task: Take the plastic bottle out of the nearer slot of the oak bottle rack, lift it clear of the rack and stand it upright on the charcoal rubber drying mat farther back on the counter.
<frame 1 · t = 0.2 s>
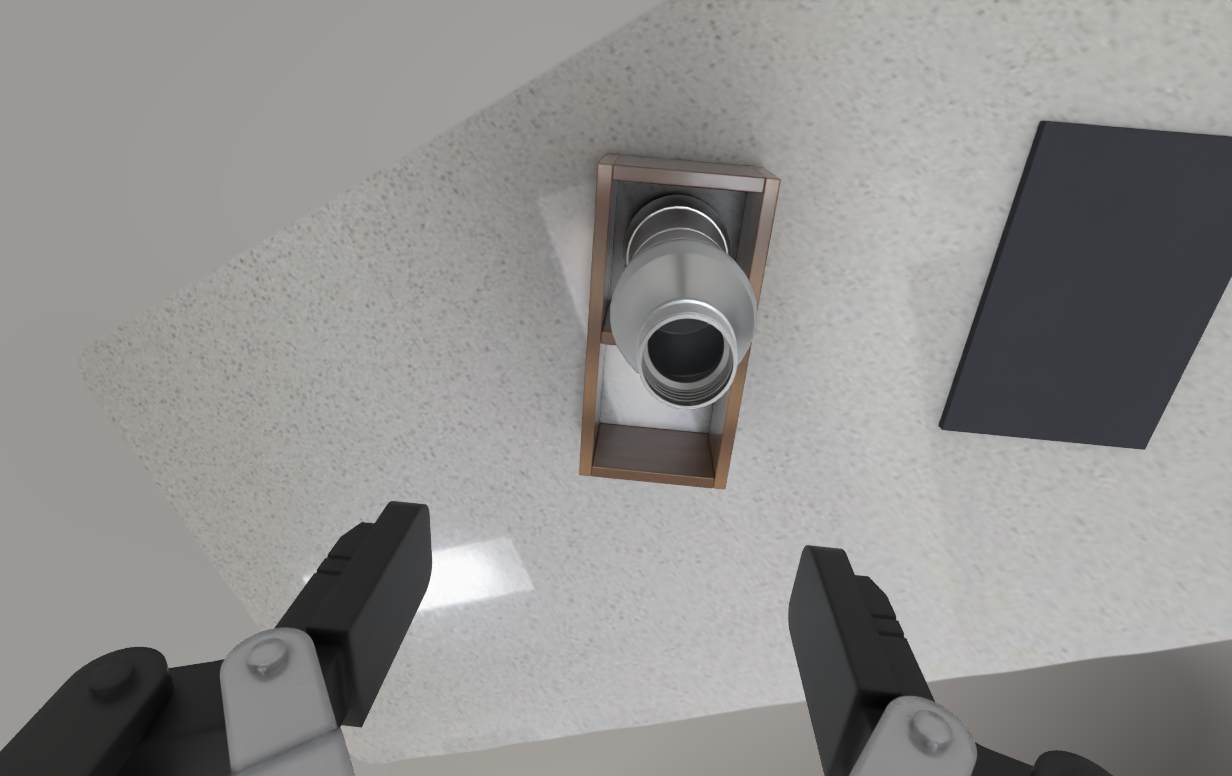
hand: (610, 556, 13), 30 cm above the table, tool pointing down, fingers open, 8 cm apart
plastic bottle: (675, 242, 41), resting in bottle rack
bottle rack: (667, 312, 42), on the table
drying mat: (1094, 299, 40), on the table
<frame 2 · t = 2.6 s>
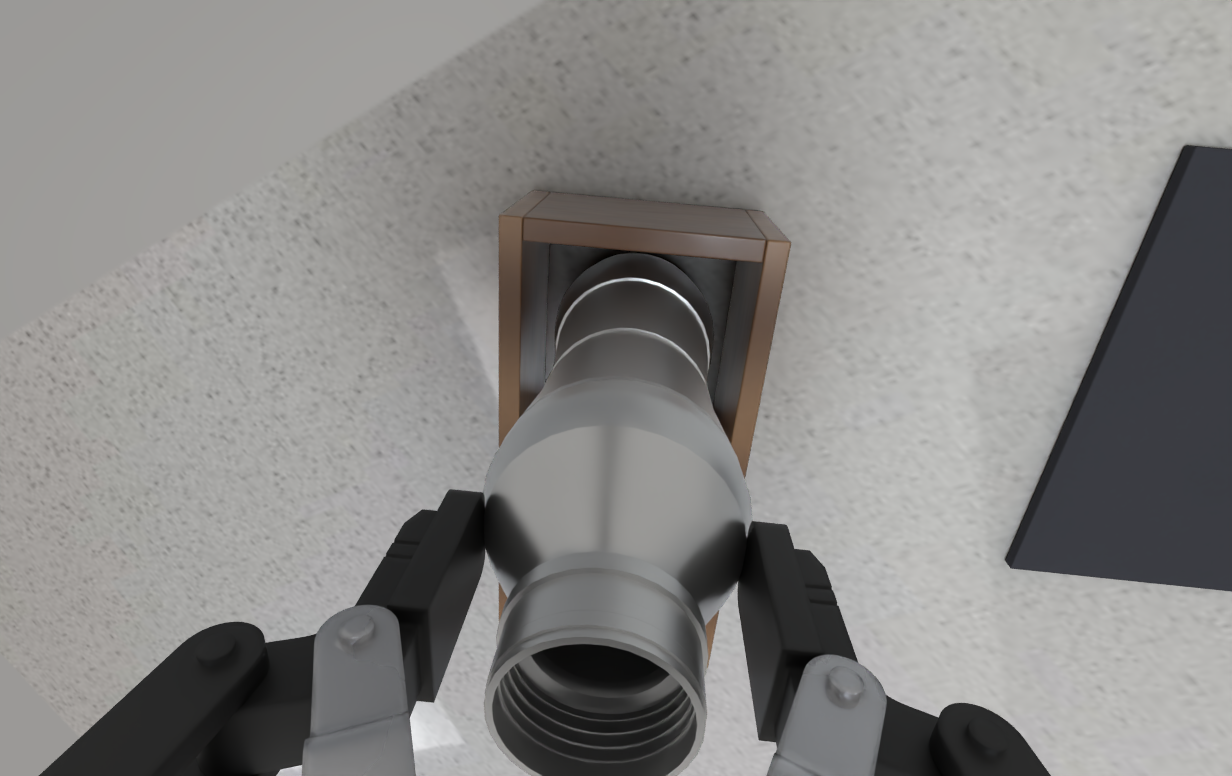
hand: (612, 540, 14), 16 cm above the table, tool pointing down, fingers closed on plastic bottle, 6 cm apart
plastic bottle: (636, 315, 28), resting in bottle rack, touching gripper
bottle rack: (627, 409, 30), on the table
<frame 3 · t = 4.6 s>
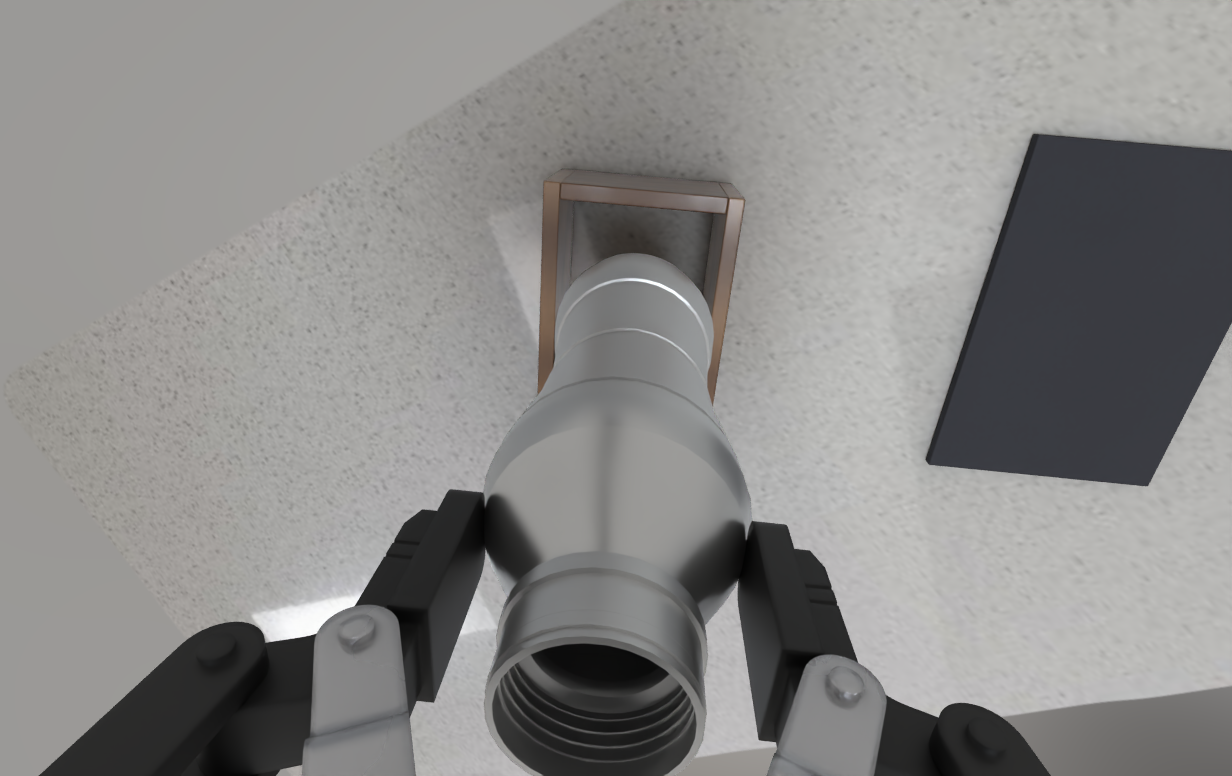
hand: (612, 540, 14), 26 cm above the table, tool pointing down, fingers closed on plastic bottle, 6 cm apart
plastic bottle: (636, 315, 28), point 10 cm above the table, touching gripper
bottle rack: (631, 338, 39), on the table
drying mat: (1093, 326, 37), on the table
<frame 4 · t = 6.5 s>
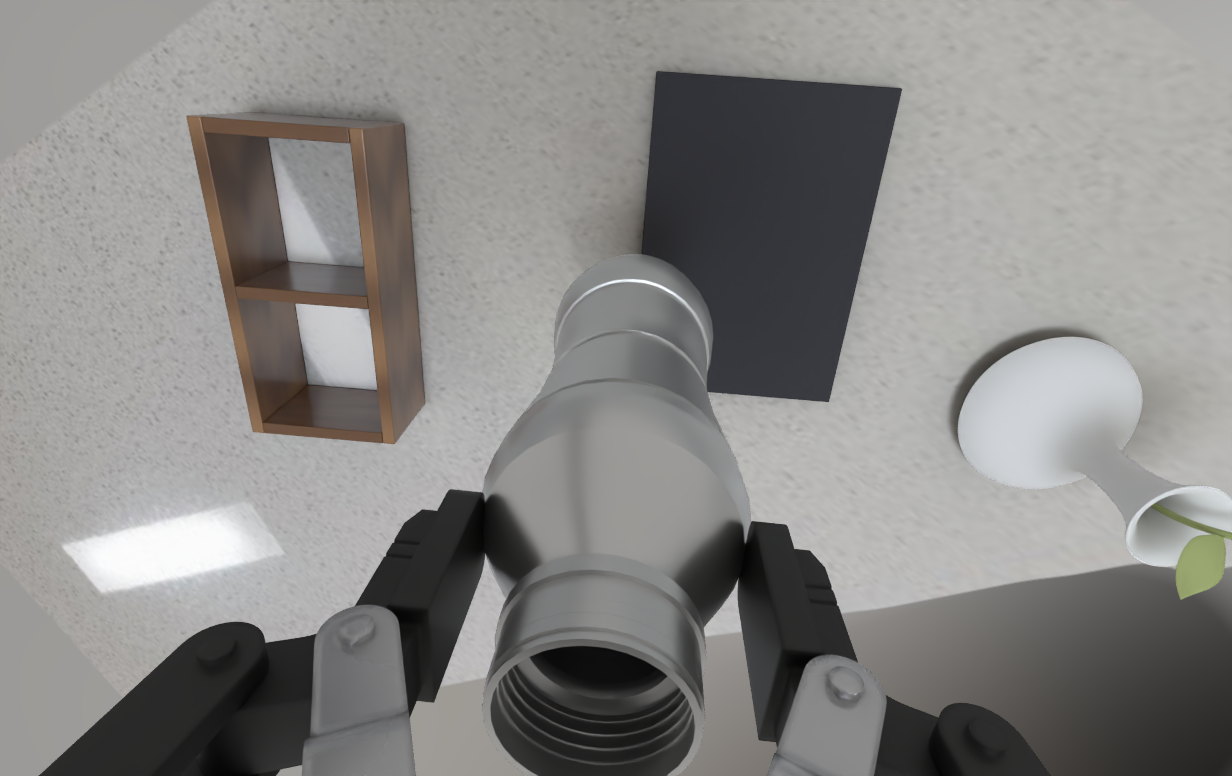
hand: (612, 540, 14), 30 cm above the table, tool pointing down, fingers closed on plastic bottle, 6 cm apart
plastic bottle: (635, 316, 28), point 14 cm above the table, touching gripper
flower in vase: (1043, 402, 44), on the table
bottle rack: (346, 271, 43), on the table
drying mat: (750, 251, 41), on the table
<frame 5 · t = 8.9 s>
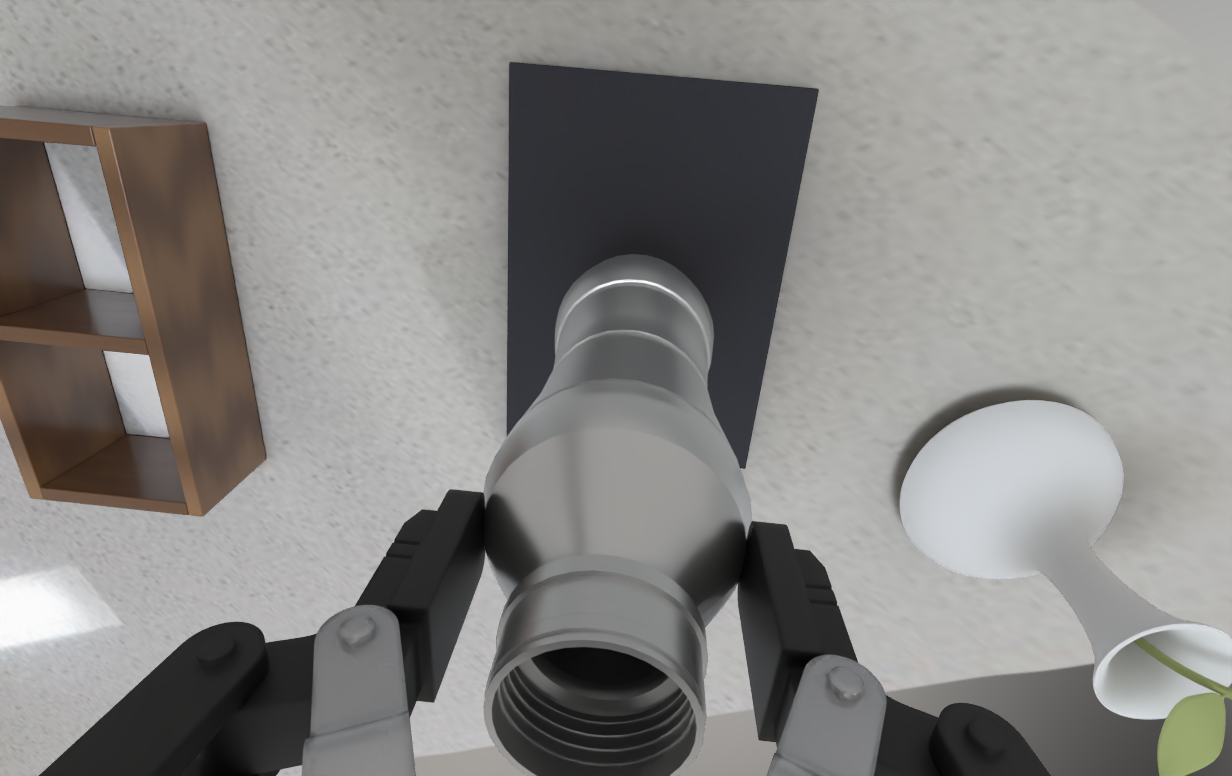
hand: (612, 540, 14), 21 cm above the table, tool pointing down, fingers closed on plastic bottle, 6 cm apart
plastic bottle: (636, 316, 28), point 5 cm above the table, touching gripper
flower in vase: (1005, 473, 36), on the table
bottle rack: (156, 302, 35), on the table
drying mat: (642, 287, 33), on the table
when the fingers open (16 cm above the table, at t = 10.7 s): plastic bottle stays where it is, resting on drying mat.
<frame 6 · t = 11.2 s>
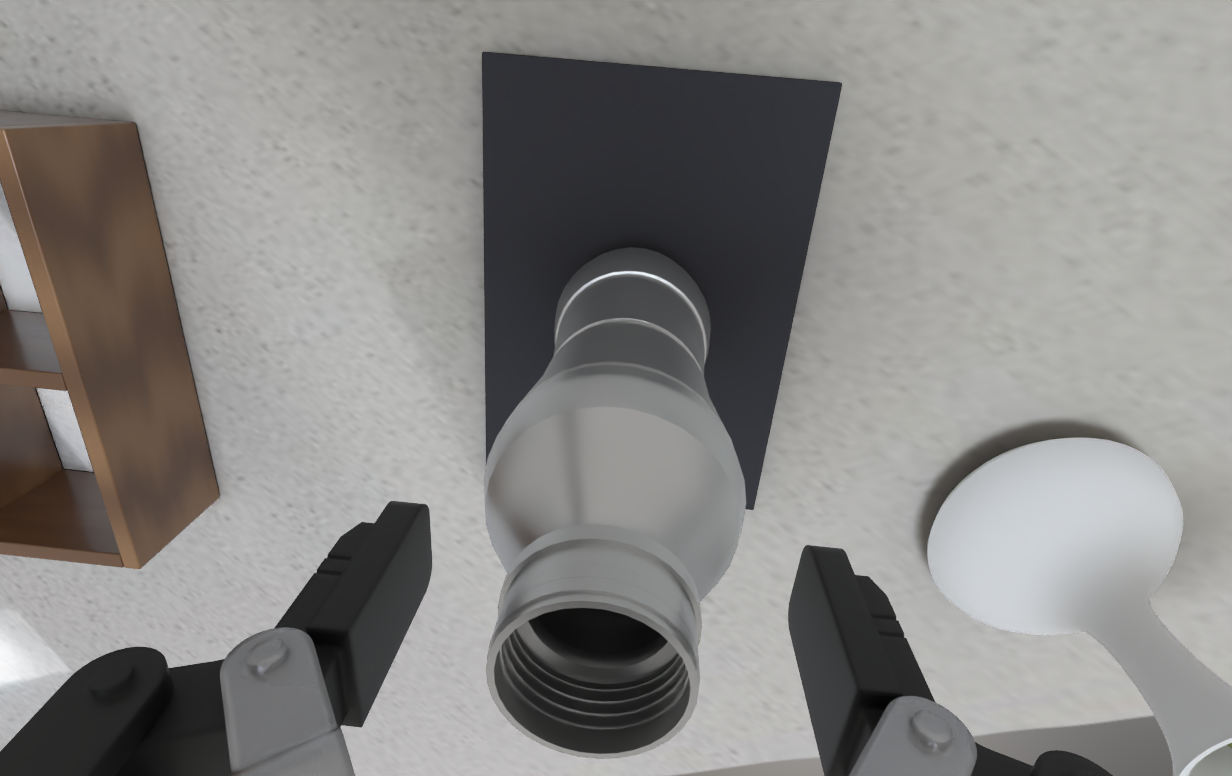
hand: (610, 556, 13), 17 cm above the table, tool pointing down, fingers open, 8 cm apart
plastic bottle: (634, 309, 29), resting on drying mat
flower in vase: (1045, 515, 33), on the table
bottle rack: (89, 325, 31), on the table
drying mat: (637, 309, 29), on the table
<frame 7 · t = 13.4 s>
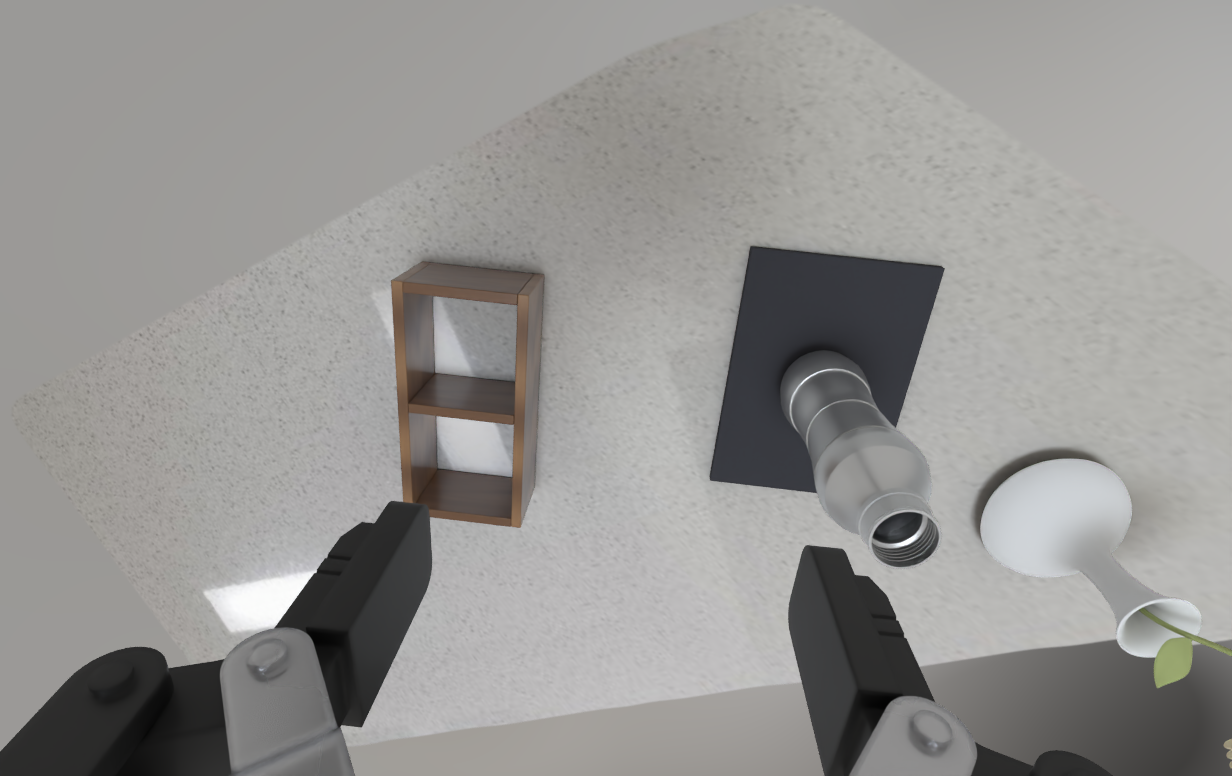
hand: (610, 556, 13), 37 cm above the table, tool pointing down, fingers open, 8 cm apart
plastic bottle: (815, 381, 50), resting on drying mat
flower in vase: (1051, 505, 54), on the table
bottle rack: (482, 382, 53), on the table
drying mat: (815, 380, 50), on the table
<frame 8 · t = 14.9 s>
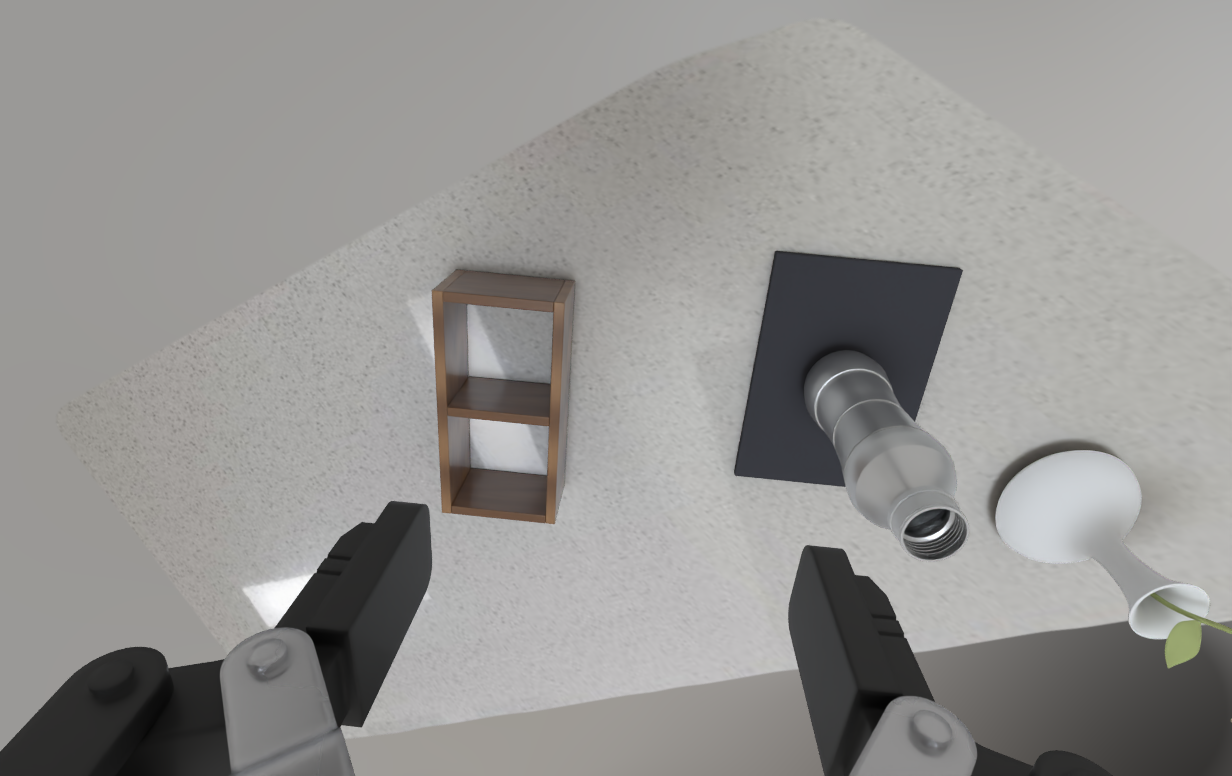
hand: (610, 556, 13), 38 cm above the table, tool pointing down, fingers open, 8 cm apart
plastic bottle: (837, 379, 52), resting on drying mat
flower in vase: (1063, 494, 56), on the table
bottle rack: (514, 384, 54), on the table
drying mat: (837, 378, 52), on the table
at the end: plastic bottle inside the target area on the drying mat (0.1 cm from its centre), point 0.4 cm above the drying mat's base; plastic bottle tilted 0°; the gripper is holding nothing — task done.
